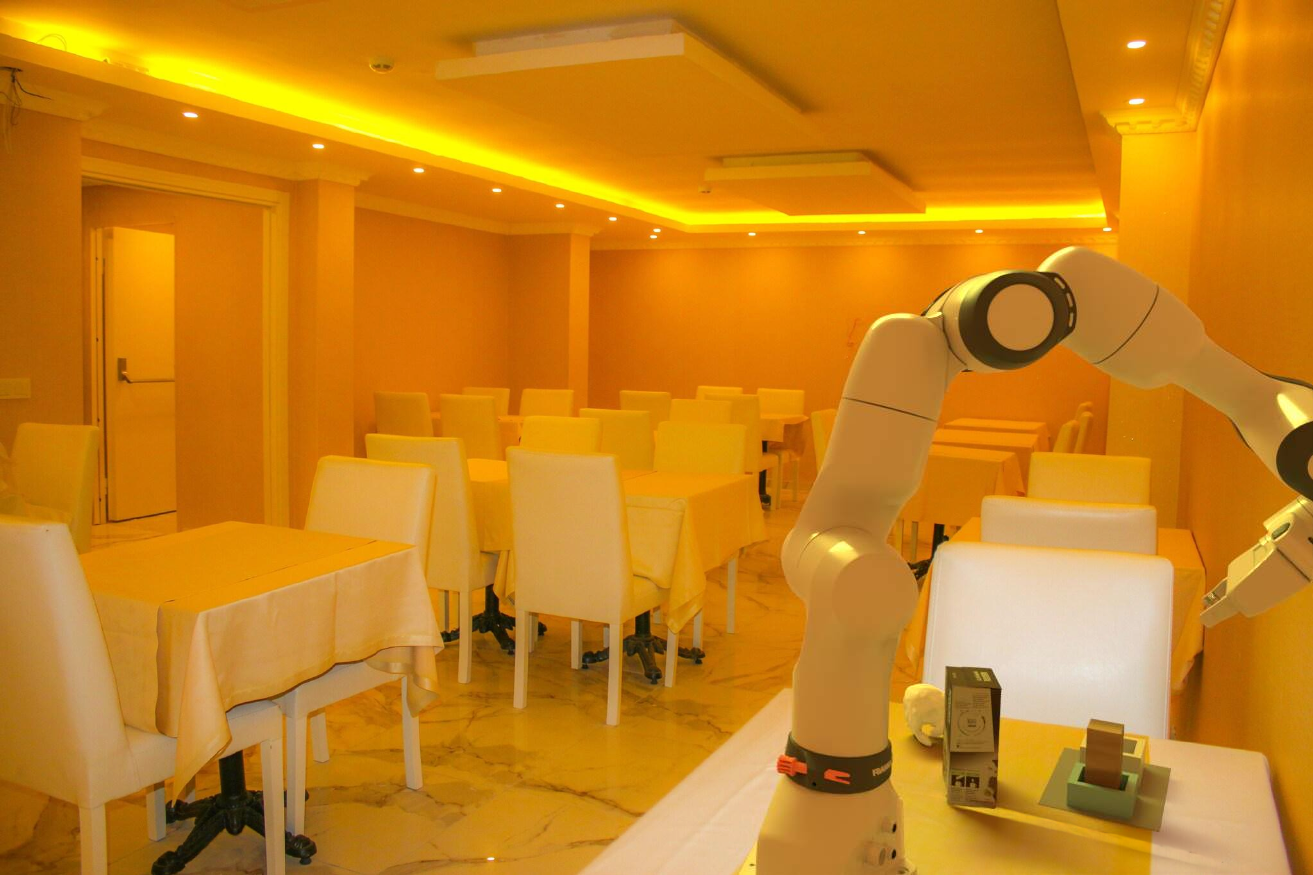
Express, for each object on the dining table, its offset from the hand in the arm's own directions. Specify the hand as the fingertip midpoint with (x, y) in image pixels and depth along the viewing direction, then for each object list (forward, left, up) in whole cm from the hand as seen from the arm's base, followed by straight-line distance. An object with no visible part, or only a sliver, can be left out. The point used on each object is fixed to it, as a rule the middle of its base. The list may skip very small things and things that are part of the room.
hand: (1204, 613), depth 120 cm
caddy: (+5, +10, -27) cm, 30 cm away
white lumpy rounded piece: (+12, +34, -28) cm, 46 cm away
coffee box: (-5, +26, -28) cm, 38 cm away
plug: (0, +10, -26) cm, 28 cm away
